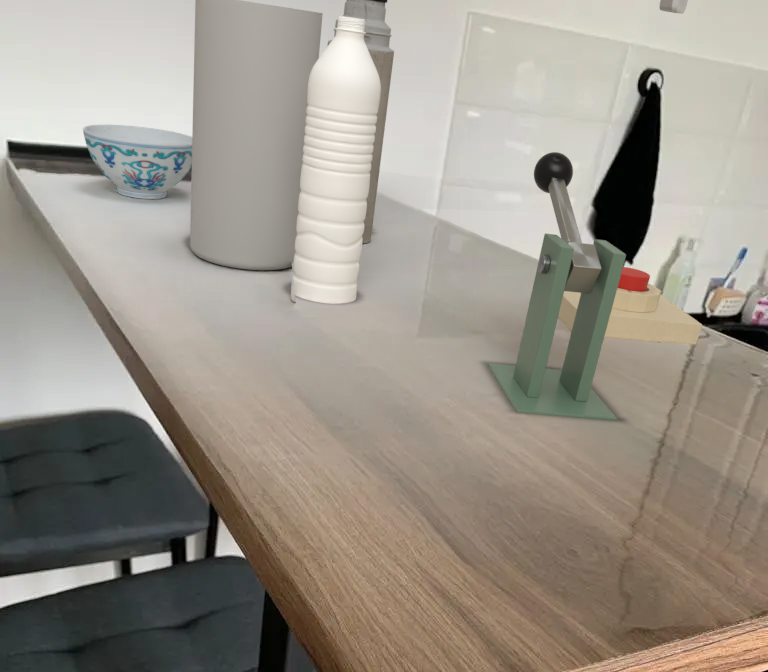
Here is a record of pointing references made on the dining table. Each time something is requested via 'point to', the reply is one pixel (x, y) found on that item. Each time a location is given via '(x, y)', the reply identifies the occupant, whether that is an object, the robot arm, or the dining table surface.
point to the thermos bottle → (370, 6)
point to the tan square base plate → (640, 317)
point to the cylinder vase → (249, 130)
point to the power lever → (568, 221)
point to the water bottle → (336, 168)
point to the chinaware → (140, 158)
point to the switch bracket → (573, 383)
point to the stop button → (633, 280)
